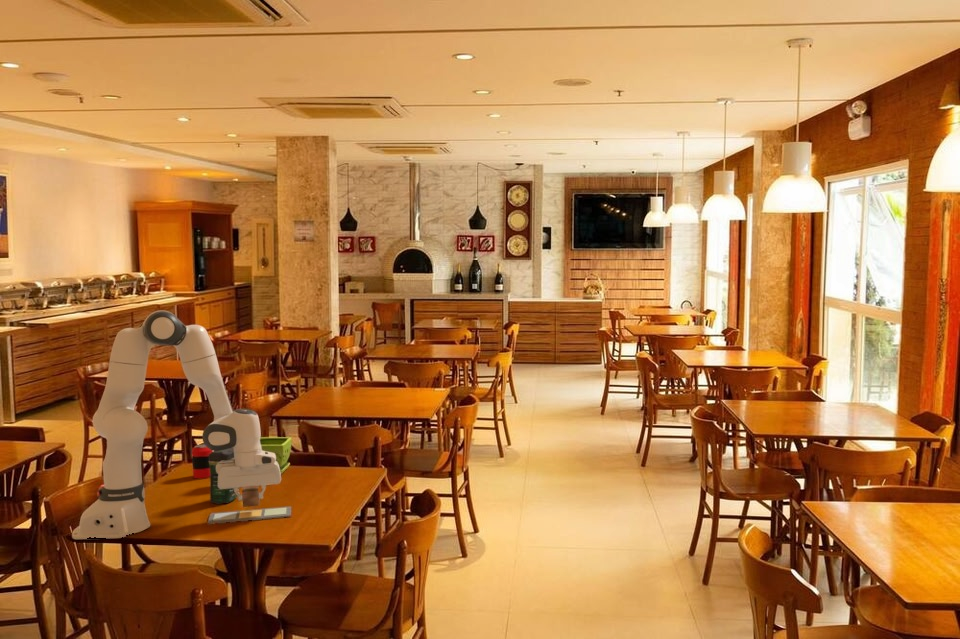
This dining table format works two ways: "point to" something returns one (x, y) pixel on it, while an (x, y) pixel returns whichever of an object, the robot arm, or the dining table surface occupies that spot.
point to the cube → (250, 496)
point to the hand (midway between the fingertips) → (250, 499)
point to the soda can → (201, 461)
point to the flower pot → (278, 449)
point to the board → (249, 515)
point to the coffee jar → (215, 493)
